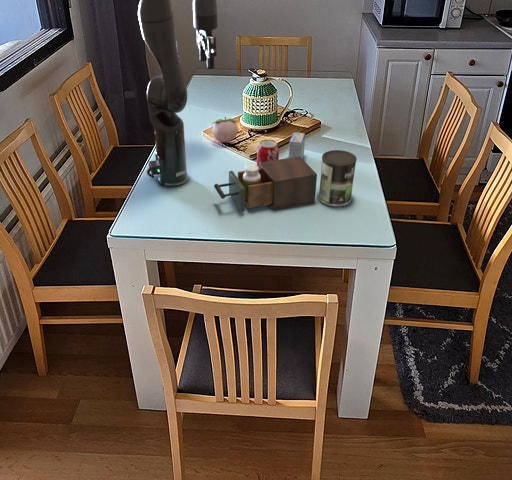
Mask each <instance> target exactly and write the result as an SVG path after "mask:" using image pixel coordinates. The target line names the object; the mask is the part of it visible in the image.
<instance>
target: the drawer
mask: <svg viewBox="0 0 512 480" xmlns="http://www.w3.org/2000/svg"><path fill="white" fill-rule="evenodd" d="M258 169H259V172H258V173H259V174H260V176H261V183H260V184H255V185H249V186H248V200H247V199H245V188H244V186H243V174H244V173H245V170H241V171H237V175H236V173H235V172H234V170H229V171H228V183H221V184H218V183H214V185H213V188H214V189H215V190H216V193H217V194H218V195H219V197H220V199H222V200H225V199H226V198H227V197H231V199H232V201H233V202H234V204H235V205H236V206H237V208H238V210H239V211H240V212H241V213H244V212H246V207H247V208H248V209H252V208H258V207H264V206H270V204H273V182H272V180H271V179H270V178H269V177H268V175H267V174H266V173H265V172H264V170H263V169H262V168H258ZM223 187H228V193H224V192H223V189H222V188H223Z"/></svg>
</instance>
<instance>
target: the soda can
mask: <svg viewBox="0 0 512 480" xmlns="http://www.w3.org/2000/svg"><path fill="white" fill-rule="evenodd" d="M279 155H280V147H279V146H278V142H277V141H276V140H274V139H262V140H261V141H259V143H258V146H257V149H256V166H257V167H258V168H259V163H260V162H266V161H273V160H279V159H280V156H279Z"/></svg>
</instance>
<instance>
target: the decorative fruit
mask: <svg viewBox="0 0 512 480" xmlns="http://www.w3.org/2000/svg"><path fill="white" fill-rule="evenodd" d="M237 123H239V122H238V120H237V119H235V118H227V117H226V116H224V119H221V118H219V119H215V120H214V121H213V122H212V123H211V125H212V134H213V136H214V138H215V139H216V140H217V141H219V142H221V143H224V144H226V143H229V142H232V141H233V140H234V139H235V138H236V136H237V135H238V125H237Z"/></svg>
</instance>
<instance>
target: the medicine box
mask: <svg viewBox="0 0 512 480" xmlns="http://www.w3.org/2000/svg"><path fill="white" fill-rule="evenodd" d="M305 142H306V133H304V132H292V135H291V137H290V140H289V144H288V158H292V157H298V156H300V157H301V158H302V159H303V160H304V157H305V146H306V145H305V144H306V143H305Z"/></svg>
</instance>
